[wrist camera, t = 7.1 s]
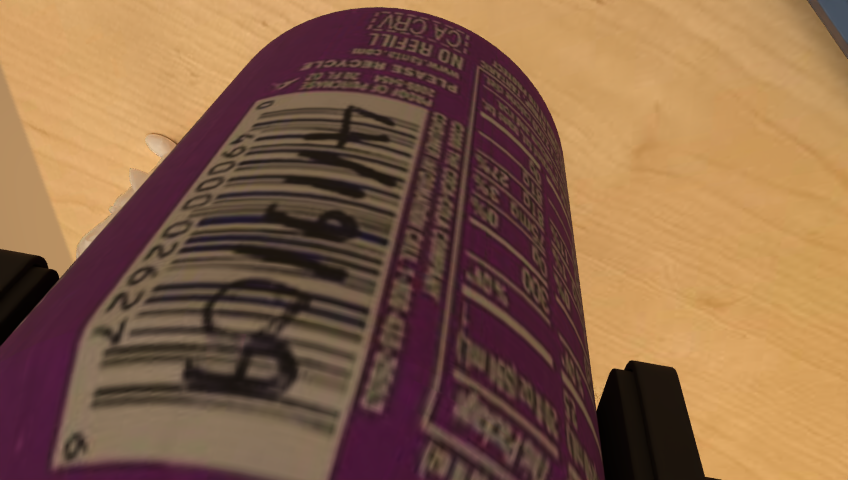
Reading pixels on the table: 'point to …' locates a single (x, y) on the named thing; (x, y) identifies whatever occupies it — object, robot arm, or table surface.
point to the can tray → (834, 19)
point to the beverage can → (326, 283)
